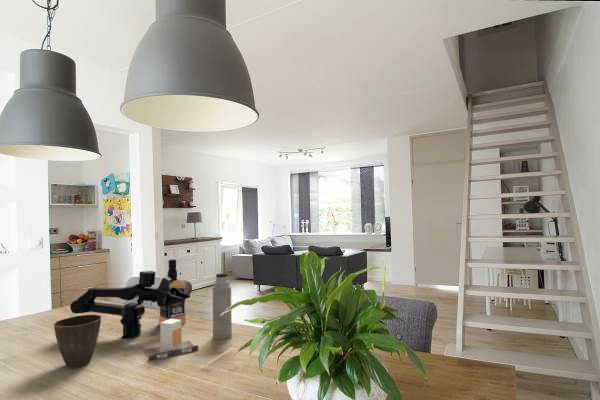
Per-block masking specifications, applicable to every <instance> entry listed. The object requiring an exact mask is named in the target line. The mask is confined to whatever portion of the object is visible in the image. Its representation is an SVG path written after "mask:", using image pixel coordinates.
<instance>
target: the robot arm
mask: <svg viewBox="0 0 600 400" xmlns="http://www.w3.org/2000/svg"><path fill="white" fill-rule="evenodd" d="M156 273H157V272H156V271H153V270H148V271H147V270H145V271H143V270H142V271H139V281H138V283H137V284H132V285H129V286H124V287H97V286H95V287H91V288H89V289H88V290H87V291H86V292H85V293H83V294H82V295H80V296H79V297H78V298H77V299H76V300H73V301H72V302H71V303H70V305H69V308H70V311H71V313H72V314H76V315H77V314H86V313H95V314H96V313H98V314H105V315H114V316H121V319H120V320H119V321H120V324H121V325H122V336H121V338H122V339H127V338H137V337H138V336H139V335H141V333H142V324H141V322H140V320H142V318H143V316H144V314H145V313H146V308H145V306H144V305H143V304H144V301H145V302H152V303H153V304H154V303H156V306H158V307H159V308H160V307H164V306H168V305H172V304H175V303H178V302H182V301H184V302H185V300H186V299H190V298H191V295H190V294H189V293H186V292H184V293H183V292H181V291H180V290H179V288H178V287H173V288H171V289H170V292H169V288H168V287H169V285H170V283H171V282H172V279H170V277H168V276H164V277H162V278H161V281H160V283H159V285H158V287H157V288H153V286H154V285H155V284H156V282H155V281H156ZM97 298H118V299H121V300H124V301H128V303H125V304H124V305H122V304H116V303H115V304H114V303H105V302H97V301H95V300H96V299H97ZM136 298H137V299H136ZM134 299H136V300H135V301H136V302H135V301H132V300H134ZM163 303H165V304H163Z"/></svg>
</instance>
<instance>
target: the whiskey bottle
mask: <svg viewBox="0 0 600 400" xmlns="http://www.w3.org/2000/svg"><path fill="white" fill-rule="evenodd" d="M167 277H170V279H172V282H171V283H170V285H169V287H168V288H169V292H170V289H171V288H173V287H178V288H179V290H180V291H181V292H183V293H185V288H186V283H185V282H183V281H181V279H178V269H177V259H175V258H172V259H169V260H168V270H167ZM163 304H165V303H163ZM185 305H186V304H185V300H184V301H182V302H178V303H175V304H172V305H168V306H164V307H159V309H160V311H159V312H160V313H159V317H158V325H159V326H161V322H163V321H166V320H169V319H178V320H181V325H184V324H186V323H187V319H186V318H187V317H186V314H185V313H186V312H185V307H186V306H185Z"/></svg>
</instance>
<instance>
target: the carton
mask: <svg viewBox="0 0 600 400" xmlns="http://www.w3.org/2000/svg"><path fill="white" fill-rule="evenodd" d="M182 325H183V324H181V320H178V319H169V320H166V321H163V322H161V325H160V347H161V352H166V351H171V350H175V349H180V348H182V342H183V339H182V332H183V331H182Z"/></svg>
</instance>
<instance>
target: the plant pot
mask: <svg viewBox="0 0 600 400" xmlns="http://www.w3.org/2000/svg"><path fill="white" fill-rule="evenodd" d="M101 322H102V315H99V314H85V315H76V316H71V317H65V318H63V319H61V320H57V321H56V322H54V324H53V328H54V333H55V338H56V342H57V346H58V349H59V351H60V354H61V356H62V359H63V362H64V364H65V366H66V367H67V368H68V369H77V368H81V367H84V366H86V365H88V364H90V363H91V360H92V358H93V355H94V352H95V349H96V346H97V342H98V339H99V334H100V329H101Z"/></svg>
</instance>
